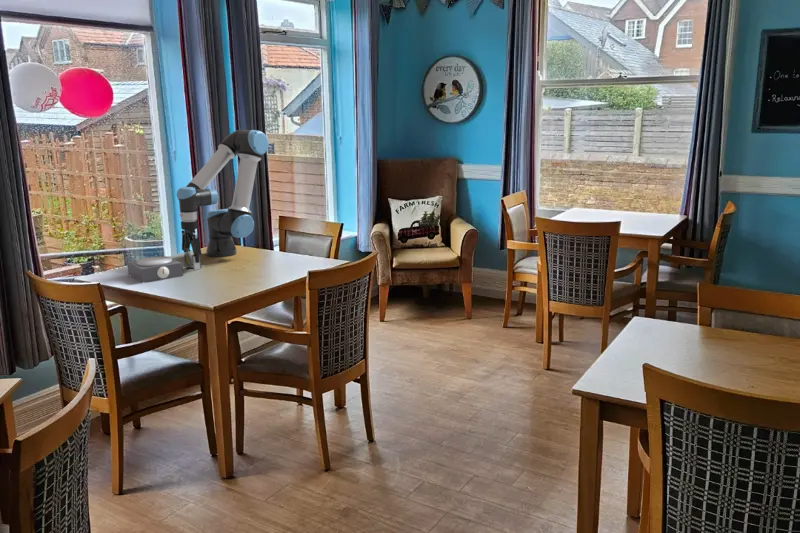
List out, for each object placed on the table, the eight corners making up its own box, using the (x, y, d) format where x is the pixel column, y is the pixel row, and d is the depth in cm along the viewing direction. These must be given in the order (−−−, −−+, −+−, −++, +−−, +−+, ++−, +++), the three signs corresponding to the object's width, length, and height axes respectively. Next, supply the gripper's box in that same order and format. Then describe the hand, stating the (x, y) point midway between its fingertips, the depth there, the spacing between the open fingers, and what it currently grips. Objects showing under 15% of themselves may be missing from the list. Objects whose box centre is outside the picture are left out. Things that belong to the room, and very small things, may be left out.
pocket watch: (204, 265, 325) (203, 245, 322) (197, 270, 316) (196, 249, 314) (188, 265, 325) (186, 245, 323) (181, 269, 317) (179, 248, 315)
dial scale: (128, 275, 308) (127, 260, 306) (167, 268, 319) (166, 254, 317) (143, 283, 294) (142, 267, 292) (183, 276, 305) (182, 261, 303)
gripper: (171, 218, 321) (175, 264, 326) (191, 224, 305) (194, 272, 310) (187, 216, 326) (190, 262, 331) (206, 222, 310) (210, 270, 315)
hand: (192, 267), depth 321 cm, fingers open, 9 cm apart
